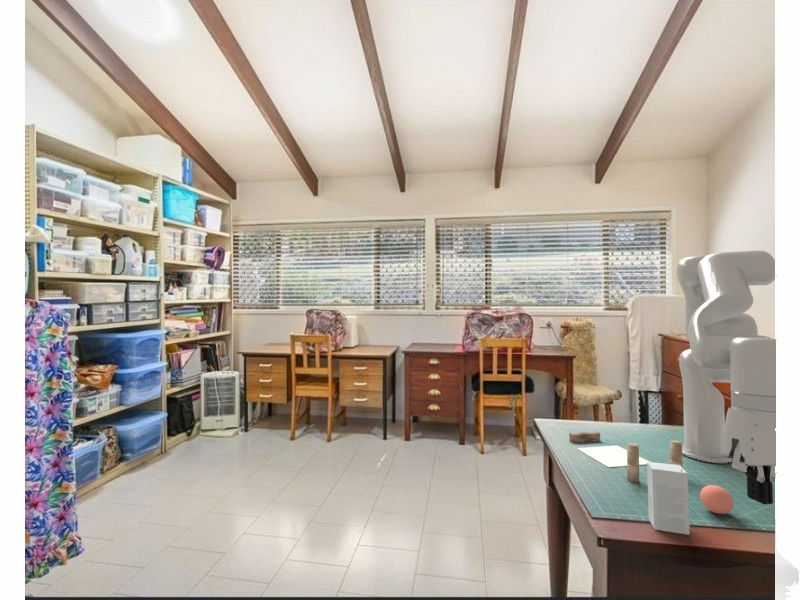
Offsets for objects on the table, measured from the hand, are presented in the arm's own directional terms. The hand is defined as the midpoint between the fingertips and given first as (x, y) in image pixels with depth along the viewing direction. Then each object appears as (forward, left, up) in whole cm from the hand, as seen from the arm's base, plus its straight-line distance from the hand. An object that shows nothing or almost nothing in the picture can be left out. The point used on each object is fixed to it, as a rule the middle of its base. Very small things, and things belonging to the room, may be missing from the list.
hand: (759, 500), depth 71 cm
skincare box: (+13, -7, -8) cm, 17 cm away
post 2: (-8, -26, -8) cm, 28 cm away
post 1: (+4, -26, -8) cm, 27 cm away
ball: (-2, -10, -5) cm, 11 cm away
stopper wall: (-2, -54, -8) cm, 55 cm away
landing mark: (-2, -41, -8) cm, 42 cm away
